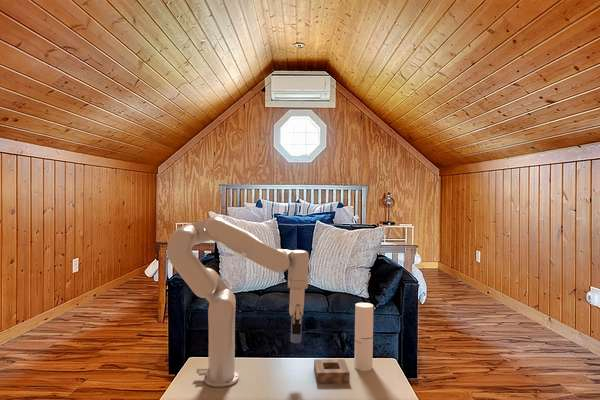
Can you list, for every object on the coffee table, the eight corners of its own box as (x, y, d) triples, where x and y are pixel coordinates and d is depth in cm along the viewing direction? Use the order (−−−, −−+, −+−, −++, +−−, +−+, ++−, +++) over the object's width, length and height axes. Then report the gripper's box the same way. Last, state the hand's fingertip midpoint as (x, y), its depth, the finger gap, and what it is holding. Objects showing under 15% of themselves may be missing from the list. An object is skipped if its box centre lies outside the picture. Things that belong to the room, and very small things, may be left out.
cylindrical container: (372, 371, 164) (373, 308, 163) (353, 369, 165) (354, 306, 165) (372, 364, 171) (373, 303, 170) (354, 362, 172) (355, 302, 172)
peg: (290, 343, 156) (291, 311, 156) (290, 339, 160) (291, 308, 160) (301, 343, 156) (302, 311, 156) (300, 339, 160) (302, 308, 160)
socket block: (316, 383, 153) (317, 372, 153) (313, 369, 165) (314, 359, 165) (349, 383, 153) (349, 372, 153) (344, 369, 165) (344, 359, 165)
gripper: (287, 278, 166) (285, 324, 166) (288, 288, 149) (286, 339, 149) (306, 278, 166) (304, 324, 167) (309, 288, 149) (307, 339, 150)
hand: (296, 331), depth 158 cm, fingers closed on peg, 4 cm apart
